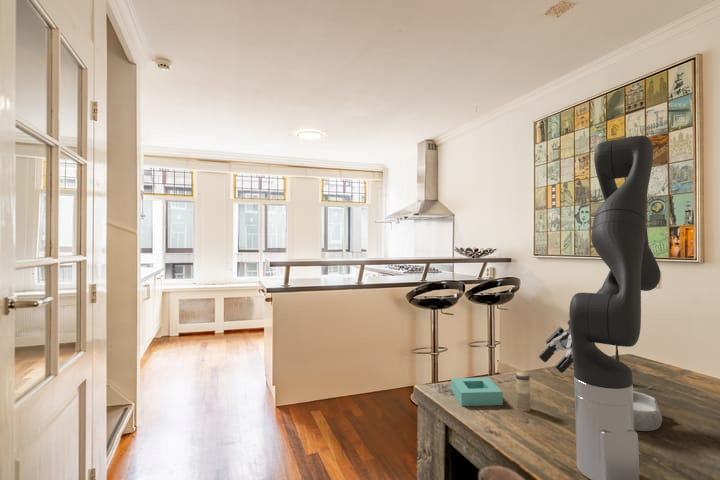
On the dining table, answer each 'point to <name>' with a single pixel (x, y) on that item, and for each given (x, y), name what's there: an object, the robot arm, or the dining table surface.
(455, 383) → the teal square frame
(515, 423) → the dining table surface
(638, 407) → the dish
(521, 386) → the tan banded cylinder
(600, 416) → the robot arm
